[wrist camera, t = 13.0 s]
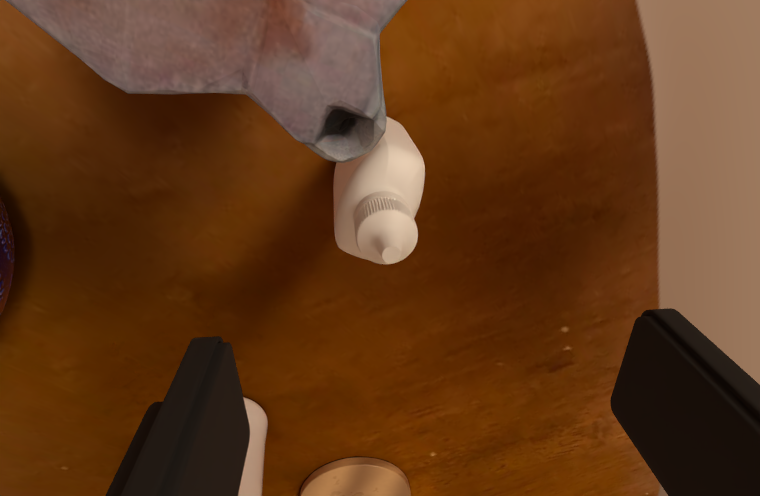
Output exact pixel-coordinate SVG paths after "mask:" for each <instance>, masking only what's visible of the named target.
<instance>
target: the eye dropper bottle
mask: <svg viewBox="0 0 760 496" xmlns="http://www.w3.org/2000/svg"><path fill="white" fill-rule="evenodd" d="M386 118H387V123H386V131H385V133H384V135H383V136H382V137H381V139H380V140H379V142H378V143H377V145H376V146H375V147H374V148H373V150H372V151H370V152H368V153H366V154H364V155H362V156H360V157H358V158H357V159H355V160H353V161H351V162H346V163H339V162H337V163H336V167H335V172H334V184H333V194H334V231H335V240H336V243H337V245H338V247H339V248H340V249H341V250H343V251H344V252H346V253H349V254H351V255H354V256H356V257H359V258H363V259H366V260H370V261H372V262H374V263H377V264H394V263H397V262H400V261H401V260H403V259H405V258H406V257H407V256H408V255H410V253H412V251H413V249H414V248H415V245H416V243H417V239H418V238H417V237H418V229H417V226H416V223H415V221H414V217H415V215H416V213H417V210H418V208H419V205H420V201H421V198H422V193H423V188H424V179H425V165H424V161H423V158H422V156H421V154H420V152H419V150H418V149H417V147H416V146H415V144H414V143H413V141H412V139H411V138H410V136H409V135H408V133H407V132H406V130H405V129H404V127H403V126H402V125H401V124H400V123H399V122H397V121H395V120H393V119H391V118H389V117H387V116H386Z"/></svg>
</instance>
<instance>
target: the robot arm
mask: <svg viewBox="0 0 760 496" xmlns="http://www.w3.org/2000/svg"><path fill="white" fill-rule="evenodd" d="M611 409H612V411H613V414H614V415H615V417H616V418H617V420H618V421H619V423H620V424H621V426H622V427H623V429H624V430H625V432H626V433H627V435H628V436H629V438H630V439H631V441H632V442H633V444H634V445H635V447H636V448H637V450H638V451H639V453H640V454H641V456H642V457H643V459H644V460H645V462H646V463H647V464H648V466H649V467H650V469H651V470H652V472H653V473H654V475H655V476H656V478H657V479H658V481H659V482H660V484H661V485H662V487H663V488H664V490H665V491H666V493H667V494H668V496H760V385H759V384H758V383H757V382H756V381H755V380H754V379H753V378H751V377H750V376H749V375H748V374H747V373H746V372H745V371H743V369H741V368H740V367H739V366H738V365H737V364H736V363H735V362H734V361H733V360H731V359H730V358H729V357H728V356H727V355H726V354H725V353H723V352H722V351H721V350H720V349H719V348H718V347H717V346H716V345H715V344H714V343H712V342H711V341H710V340H709V339H708V338H707V337H706V336H704V335H703V334H702V333H701V332H700V331H699V330H698V329H697V328H696V327H695V326H694V325H692V324H691V323H690V322H689V321H688V320H687V319H686V318H685V317H683V316H682V315H681V314H680V313H679V312H678V311H676V310H675V309H655V310H646V311H644V312H643V313H642V315H641V317H638V318H637V319H636V321H635V323H634V326H633V330H632V333H631V336H630V339H629V342H628V345H627V349H626V352H625V355H624V358H623V361H622V364H621V368H620V371H619V374H618V377H617V380H616V383H615V387H614V390H613V393H612V396H611ZM249 440H250V426H249V421H248V416H247V412H246V407H245V403H244V398H243V394H242V390H241V385H240V381H239V376H238V372H237V367H236V363H235V358H234V354H233V350H232V346H231V344H230V343H229V342H227V343H223V340H222V338H221V337H219V336H217V337H201V338H193V339H192V340H191V342H190V344H189V346H188V348H187V351H186V353H185V355H184V357H183V359H182V362H181V364H180V366H179V368H178V370H177V373H176V375H175V377H174V379H173V381H172V384H171V386H170V388H169V390H168V392H167V395H166V397H165V399H164V401H163V402H154V403H153V404H152V405H150V407H149V408H148V410H147V411H146V413H145V415H144V417H143V419H142V422H141V424H140V426H139V428H138V430H137V432H136V434H135V436H134V438H133V440H132V442H131V444H130V446H129V448H128V450H127V452H126V455H125V457H124V459H123V461H122V463H121V465H120V467H119V469H118V471H117V473H116V475H115V477H114V479H113V481H112V483H111V485H110V488H109V490H108V492H107V494H106V496H238V493H239V488H240V483H241V478H242V474H243V469H244V464H245V460H246V455H247V450H248V446H249Z"/></svg>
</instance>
